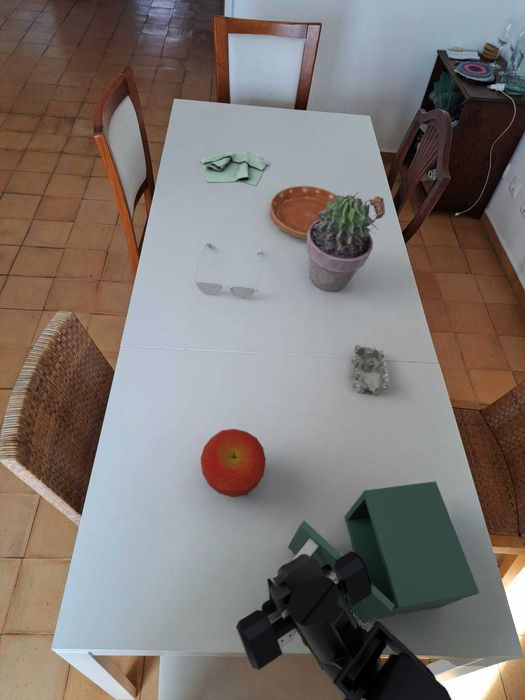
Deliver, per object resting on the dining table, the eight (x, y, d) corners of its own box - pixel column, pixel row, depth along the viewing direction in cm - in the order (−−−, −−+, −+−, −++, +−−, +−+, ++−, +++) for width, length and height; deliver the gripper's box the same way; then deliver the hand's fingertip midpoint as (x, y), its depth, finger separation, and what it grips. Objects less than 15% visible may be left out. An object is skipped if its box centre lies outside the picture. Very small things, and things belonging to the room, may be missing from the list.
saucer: (254, 224, 127) (255, 213, 124) (291, 186, 140) (293, 175, 137) (327, 257, 122) (330, 246, 119) (359, 214, 135) (362, 203, 132)
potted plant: (279, 258, 119) (293, 172, 100) (347, 251, 124) (374, 167, 104) (299, 308, 109) (319, 223, 89) (372, 299, 114) (408, 216, 94)
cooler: (371, 619, 71) (398, 607, 61) (344, 516, 80) (364, 490, 70) (441, 607, 73) (479, 592, 63) (407, 507, 82) (435, 481, 72)
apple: (255, 516, 79) (261, 491, 69) (194, 503, 79) (192, 477, 70) (265, 457, 86) (273, 427, 76) (209, 446, 86) (210, 415, 76)
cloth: (275, 162, 147) (276, 155, 145) (246, 196, 134) (247, 189, 133) (219, 143, 151) (219, 136, 149) (186, 175, 138) (185, 167, 136)
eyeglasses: (193, 292, 109) (193, 280, 106) (205, 244, 120) (205, 231, 117) (257, 300, 110) (258, 289, 106) (263, 251, 120) (264, 239, 117)
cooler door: (337, 664, 67) (360, 660, 57) (257, 582, 73) (266, 564, 62) (368, 617, 71) (395, 605, 61) (291, 542, 77) (304, 520, 67)
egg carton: (383, 398, 96) (389, 388, 93) (348, 391, 96) (353, 381, 93) (383, 358, 103) (389, 347, 99) (350, 352, 103) (355, 341, 100)
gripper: (383, 547, 55) (318, 498, 69) (246, 635, 48) (205, 560, 63) (404, 622, 57) (337, 559, 71) (276, 715, 51) (230, 625, 65)
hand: (280, 573), depth 68 cm, fingers open, 4 cm apart
